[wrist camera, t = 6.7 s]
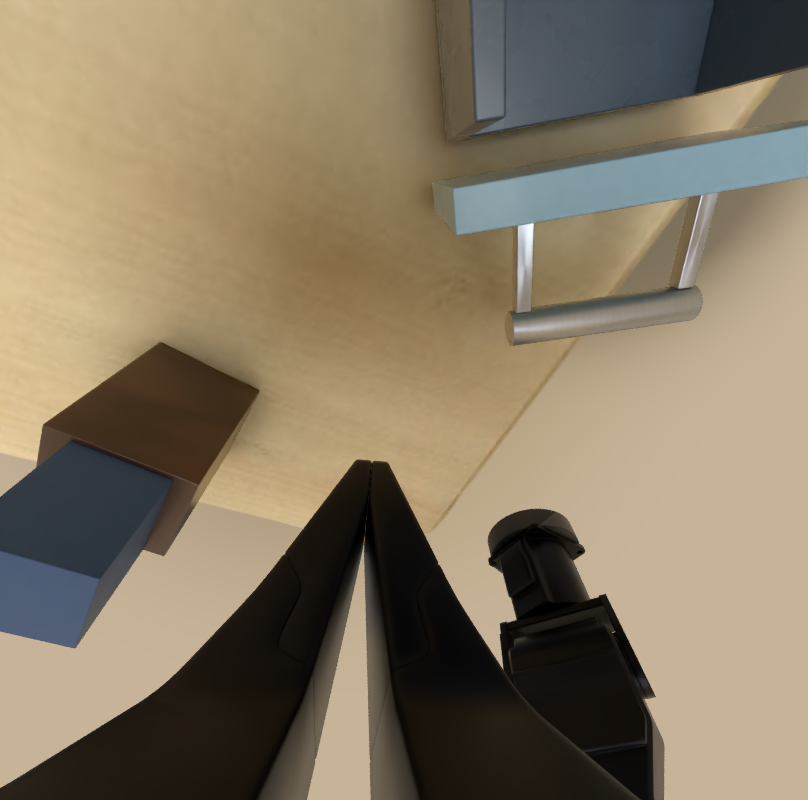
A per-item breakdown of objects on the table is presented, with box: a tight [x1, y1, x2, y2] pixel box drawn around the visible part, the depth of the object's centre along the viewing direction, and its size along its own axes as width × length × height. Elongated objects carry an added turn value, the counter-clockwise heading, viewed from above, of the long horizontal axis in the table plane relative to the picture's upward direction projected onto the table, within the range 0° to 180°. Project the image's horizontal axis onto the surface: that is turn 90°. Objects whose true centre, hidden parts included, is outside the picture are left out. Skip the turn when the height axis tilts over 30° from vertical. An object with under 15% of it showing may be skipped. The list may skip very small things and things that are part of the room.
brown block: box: [36, 343, 259, 556], centre depth 19 cm, size 6×6×8 cm
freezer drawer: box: [432, 0, 808, 346], centre depth 11 cm, size 18×11×7 cm, turn 9°
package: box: [0, 441, 173, 648], centre depth 14 cm, size 4×6×4 cm
